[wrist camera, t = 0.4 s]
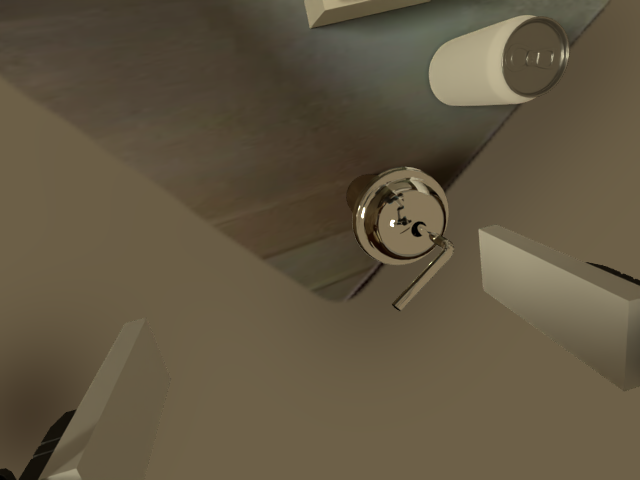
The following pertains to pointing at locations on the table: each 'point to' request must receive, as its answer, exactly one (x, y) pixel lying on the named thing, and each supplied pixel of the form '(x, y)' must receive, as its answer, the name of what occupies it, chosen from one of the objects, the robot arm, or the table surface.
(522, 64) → the can
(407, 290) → the cup with straw
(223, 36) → the table surface
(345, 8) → the scale
